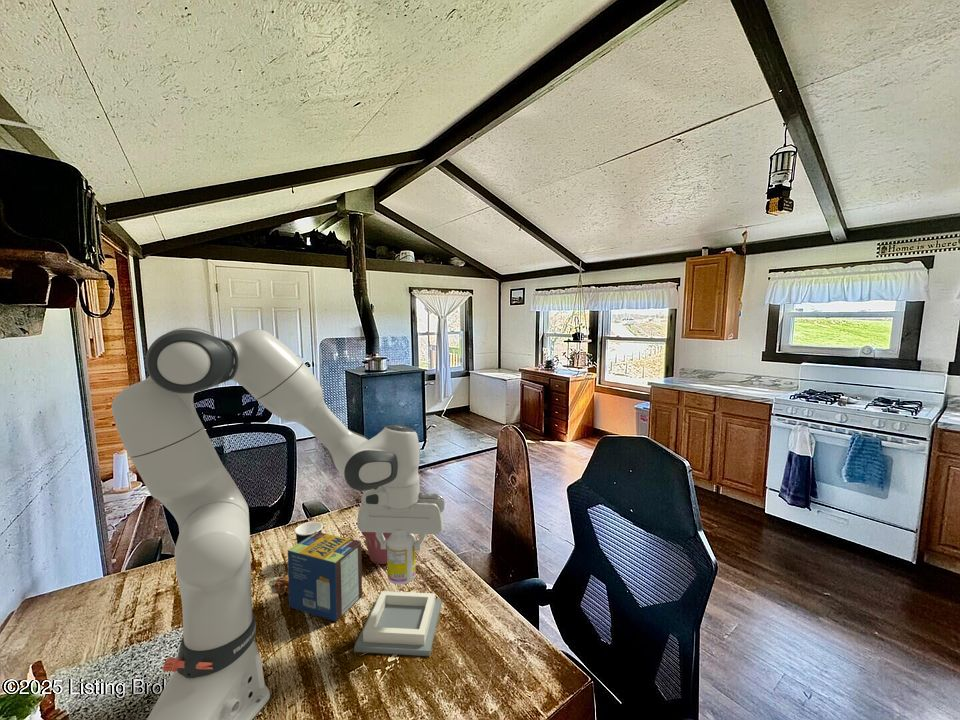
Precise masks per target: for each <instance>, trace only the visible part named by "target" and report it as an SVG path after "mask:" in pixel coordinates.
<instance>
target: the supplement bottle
mask: <svg viewBox="0 0 960 720" xmlns="http://www.w3.org/2000/svg"><path fill="white" fill-rule="evenodd" d="M415 541H416V536H415V534H407V533H406V532H405V530H393V533H392V535H390V536H389V538H388V540H387V566H386V567H387V568H386V569H387V580H388V581H389V583H391V584H392V585H395V586H396V585H397V586H401V585H402V586H403V585H406V584H408V583H410V582H412V581H413V580H414V578H415V577H416V570H417V569H416V551H414V543H415Z"/></svg>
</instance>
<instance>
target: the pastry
mask: <svg viewBox="0 0 960 720" xmlns="http://www.w3.org/2000/svg"><path fill="white" fill-rule="evenodd" d="M268 586H269V587H272V586H274V587H275V588H277V589H276V590H275V592H274V594H278V595H281V596H283V595H284V594H285V593H287V595H288V596H289V578H288V576H287V574H285V573H283V574H281V575H280V576H279V575H278V576H275V577H273V578H271V579H270V580H269V581H268Z"/></svg>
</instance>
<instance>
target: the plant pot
mask: <svg viewBox="0 0 960 720" xmlns="http://www.w3.org/2000/svg"><path fill="white" fill-rule="evenodd" d="M361 535H362V536H363V537H364V541H365V543H366V548H367V553H368V555H369V560H370V561H371V562H372V563H374V564H377V565H386V564H387V550H385V549H381V543H380V542H379V540H378V539H377V537H376V532H361ZM383 535H384V537H385V539H388V538H389V536H390V535H392V533H383Z"/></svg>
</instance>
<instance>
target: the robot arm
mask: <svg viewBox="0 0 960 720" xmlns="http://www.w3.org/2000/svg"><path fill="white" fill-rule="evenodd" d="M145 367H146V371H147V374H148V375H149V376H147V378H145V379H143V380H142V381H139V382H136V383H132V384H131V385H129V386H127V387H125V388H123V390H121V391H120V392H119V393H118V394H117V395H116V396H115V397H114V398H113V400H112V403H111V411H112V412H111V413H112V416H113V419H114V424H115V426H116V430H117V432H118V435H119V437H120V441H121V443H122V445H123V447H124V449H125V451H126V452H127V454H128V457H129V459H130V460H131V462H132V464H133V466H134V467H135V469H136V471H137V473H138V475H139V476H140V478H141V480H142V482H143V483H144V485H145V487H146V489H147V491H148V492H149V494H150V496H151V497H152V498H153V499H155V500H158V501H159V502H160V503H161V504H162V505H163V506H164V507H165V508H166V509H167V510H168V511H169V512H170V514H171V515H172V516H173V517H174V520H175V521H176V523H177V525H178V532H179V534H178V536H177V540H176V543H175V548H174V563H175V571H176V572H175V573H176V577H177V584H178V588H179V589H178V590H179V594H180V600H181V610H182V629H183V630H182V632H183V635H182V638H181V642H180V645H179V649H178V654H177V657H174V656H173V657H172V656H170V657H168V658H167V659H166V660H164V664H163V665H162V671H163V672H172V674H171V676H170V677H169V679H168V681H167V683H166V684H165V686H164V688H163V689H162V692H161V694H160V696H159V697H158V699H157V701H156V703H155V704H154V706H153V708H152V710H151V711H150V713H149V715H148V716H147V718H146V720H254V718H255V716H256V715H257V714H258V713H259V712H260V711H261V710H262V708H263V707H264V706H266V704H267V703H268V702H269V700H270V698H271V693H270V689H269V688H268V686H267V685H266V684H265V678H264V677H265V676H264V672H263V670H264V669H263V664H262V663H263V662H262V657H261V654H260V652H259V649H258V647H257V644H256V640H255V638H256V634H257V631H256V629H257V622H256V616H255V614H254V612H253V597H252V596H253V594H252V591H253V589H252V565H251V564H252V563H251V562H252V559H251V532H250V531H251V530H250V528H251V527H250V512H249V511H250V510H249V506H248V505H249V504H248V503H247V500H246V499H245V497H244V495H243V494H242V492H241V490H240V489H239V487H238V486H237V484H236V483H235V481H234V479H233V478H232V476H231V475H230V473H229V471H228V470H227V469H226V467H225V466H224V464H223V462H222V460H221V459H220V456H219V455H218V453H217V451H216V449H215V447H214V445H213V443H212V441H211V438H210V436H209V435H208V433H207V431H206V429H205V426H204V425H203V423H202V421H201V419H200V417H199V415H198V412H197V411H196V407H195V405H194V404H195V403H194V396H195V394H196V393H199V392H202V391H205V390H209V389H210V388H214V387H215V386H218V385H221V384H223V383H226V382H229V381H233V382H236V383H237V384H239V385H241V386H242V388H244V389H245V390H246V391H247V392H248V393H249V394H250V395H251V396H252V397H253V399H255V400H256V401H257V402H258V404H261V405H262V406H263V408H265V409H266V410H268V411H269V412H270V413H271V414H273V415H275V416H276V417H277V418H279V419H281V420H283V421H286V422H292V423H293V422H294V423H298V424H300V425H302V426H303V427H304V428H305V429H307V431H309V432H310V433H311V434H312V435H313V436H314V437H315V438H316V439H317V440H318V441H319V442H320V443H321V444H322V445H323V447H325V448H326V449H327V451H328V454H329V458H330V461H331V463H332V464H331V465H332V466H333V467H334V469H335V470H336V471H338V472H339V474H340V475H341V477H342V478H343V480H344V481H345V482H346V484H348V486H349V487H350V488H352V489H353V490H355V491H362V492H363V494H362V495H361V499H360V501H361V505H360V506H359V508H358V513H357V521H356V522H357V523H356V525H357V529H358V530H359V531H360V533H362V532H376V537H377V539H378V540H379V542H380V543H381V549H385V550H387V540H388V539H385V537H384V535H383V533H393V530H405V532H406V533H407V534H413V535H415V534H416V535H418V538H419V539H418V540H416V539H415V543H414V551H415V552H416V551H417V552H421V550H422V543H423V541H424V540H425V537H426V535H433V536H436V535H440V534H441V532H442V531H443V529H444V510H445V500H444V499H445V498H443V497H442V496H441V495H439V494H437V493H425V492H420V491H421V489H420V485H421V484H420V483H421V482H420V474H419V466H420V461H421V460H420V457H421V456H420V443H419V437H418V433H417V432H416V431H415V429H414V428H412V427H409V426H406V425H403V424H389V425H386V426H384V428H383V429H382V430H381V431H379V432H378V434H376V435H375V436H373V437H371V438H370V439H368V437H366V436H365V435H363V434H360V433H358V432H355V431H353V430H351V429H349V428H348V427H346V425H344V424H343V423H342V421H341V419H339V418H338V417H337V416H336V415H335V414H334V413H333V412H332V410H331V409H329V407H328V406H327V404H326V402H325V400H324V395H323V394H324V392H323V388H322V386H321V384H320V382H319V381H318V379H317V377H315V375H314V373H312V371H311V369H310V368H309V367H308V366H307V365H306V364H305V363H304V362H303V360H302V359H301V358H300V357H299V356H298V355H296V354H295V352H293V351H292V350H291V349H290V348H289V347H288V346H287V345H285V343H284V342H282V341H281V340H279V339H278V338H277V337H276V336H274V335H273V334H271V333H270V332H268V331H267V330H264V329H258V328H257V329H251V330H250V329H249V330H247V331H244V332H242V333H239V334H238V335H237V336H235V337H233V338H231V339H227V340H226V339H224V338H220V337H217V336H215V335H214V334H213V333H210V332H209V331H207V330H204V329H201V328H197V327H181V328H176V329H173V330H171V331H168V332H166V333H165V334H162V335H161V336H159V337H157V338H156V339H155V340H154V341H153V342H152V343H151V345H150V346H149V348H148V349H147V352H146V355H145Z"/></svg>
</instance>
